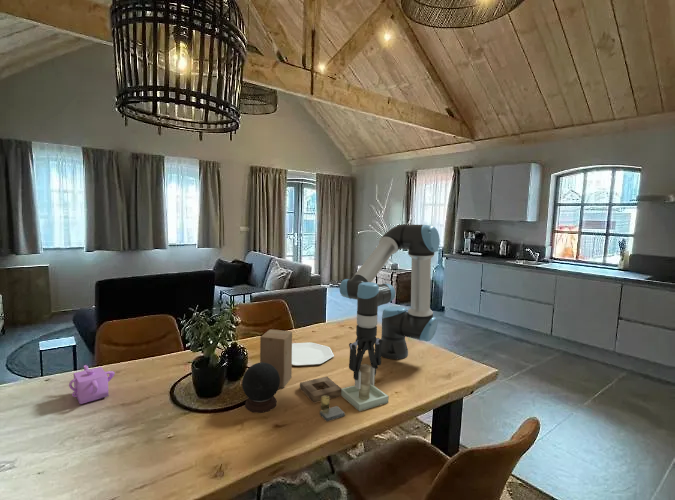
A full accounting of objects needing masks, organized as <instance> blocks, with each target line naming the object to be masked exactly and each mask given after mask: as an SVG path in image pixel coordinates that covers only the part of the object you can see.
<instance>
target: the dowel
mask: <svg viewBox="0 0 675 500" xmlns="http://www.w3.org/2000/svg"><path fill="white" fill-rule="evenodd" d="M371 366H372V365H371V364H367V363H361V366H360V370H359V371H361V389H359V398H360V399H361V400H368V399H369V395H370V369H371Z"/></svg>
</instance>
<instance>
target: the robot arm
mask: <svg viewBox="0 0 675 500" xmlns="http://www.w3.org/2000/svg"><path fill="white" fill-rule="evenodd" d="M440 241H441V239H440V234H439V231H438V229H437V228H436V226H433V225H430V224H429V225H428V224H407V223H403V224H398V225H396V226H394V227H392V228H391V229H389V230H387V231H386V232H385V233H384V234H383V235H382V236H381V237H380V239H379V240H378V245H377V246H376V247H375V248H374V249H373V251H372V252H371V253H370V255H369V256H368V258H366V259H365V261H364V262H363V263H362V265H361V266H360V268H358V270H357V271H356V272H355V274H354V275H353V276H352V277H351V279H350V278H345V279H343V280H342V281H341V282H340V284H339V293H340V295H341V296H342V297H344V298H348V299H349V300H351V299H353V300H356V302H357V303H356V306H357V307H356V308H357V309H356V327H355V328H356V331H355V333H356V339H355V341H354V342H349V344H348V346H349V359H348V360H349V363H348V369H349V370H350V371H352V372H353V377H352V378H353V380H354V385H355V387H356V388H358V389H361V371H360V366H361V365H362V361H363V359H364V355H365V354H366V351H367V353H368V357H369V362H370V363H369V364H370V366H371V369H370V384H371V385H372V386H373V385H374V386H375V376H376V375H377V369H379V366H381V365H382V358H385V359H390V360H401V359H405V358H407V357H408V356H409V349H408V346H407V342H406V338H409V339H413V340H418V341H421V342H430V341H432V340H433V338H434V336H435V335H436V332H437V329H438V319H437V317H436V316H434V312H433V310H432V309H431V307H430V305H431V275H432V274H431V271H432V270H431V269H432V268H431V267H432V265H431V264H432V258H433V257H434V256H435V253H436V252H438V251H439V248H440V244H441V243H440ZM400 250H408V256H409V257H411V269H410V270H411V271H410V272H411V275H410V276H411V277H410V278H411V280H410V282H411V285H410V288H411V289H410V308H409V309H407V308H406V307H404V306H389V307H386V308H384V309H383V310H382V314H381V315H382V316H381V338H379V337H377V334H378V326H377V325H378V311H379V309H378V308H379V307H380V306H383V305H386V304H389V303H390V302H392V301H393V300H394V299H395V298H396V290H395V287H394V286H393V285H392V284H390V283H381V284H379V283H377V282H373V281H374V279H375V278H376V277H377V276H378V274H379V273H380V271H381V270H382V269H383V267H384V266H385V265H386V263H387V262H388V261H389V259H390V258H391V257H392V255H394V254H396V253H397V252H398V251H400Z"/></svg>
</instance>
